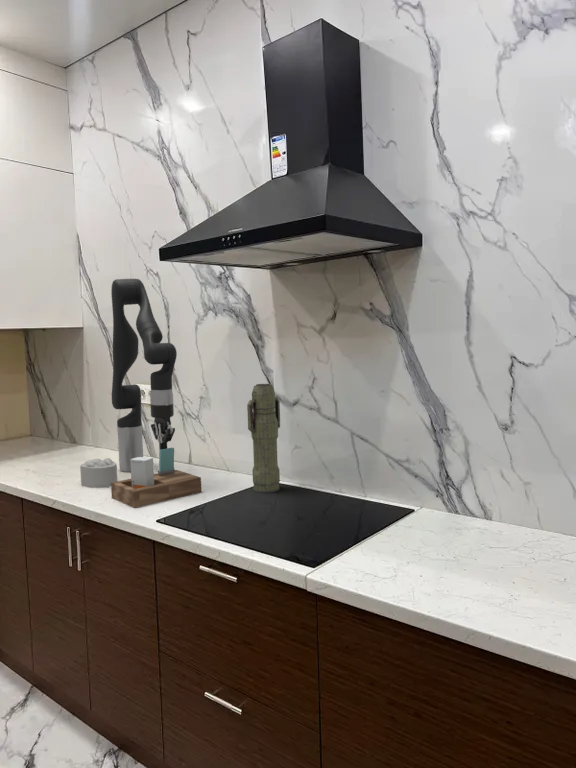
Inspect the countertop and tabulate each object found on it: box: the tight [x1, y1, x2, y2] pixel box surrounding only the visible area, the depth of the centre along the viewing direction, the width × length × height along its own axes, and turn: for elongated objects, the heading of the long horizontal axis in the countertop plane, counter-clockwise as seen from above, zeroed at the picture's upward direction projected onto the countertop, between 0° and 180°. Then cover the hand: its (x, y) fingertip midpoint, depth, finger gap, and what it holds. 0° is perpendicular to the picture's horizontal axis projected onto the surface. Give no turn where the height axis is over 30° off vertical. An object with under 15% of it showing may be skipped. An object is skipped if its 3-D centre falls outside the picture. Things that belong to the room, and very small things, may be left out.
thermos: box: [246, 383, 281, 494], centre depth 191 cm, size 9×12×35 cm
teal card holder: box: [157, 447, 176, 476], centre depth 196 cm, size 9×6×2 cm
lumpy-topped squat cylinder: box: [79, 457, 118, 489], centre depth 206 cm, size 10×13×9 cm
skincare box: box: [130, 456, 155, 489], centre depth 186 cm, size 6×4×12 cm
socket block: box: [110, 469, 203, 509], centre depth 190 cm, size 16×24×5 cm, turn 131°
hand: (163, 453), depth 197 cm, fingers closed
